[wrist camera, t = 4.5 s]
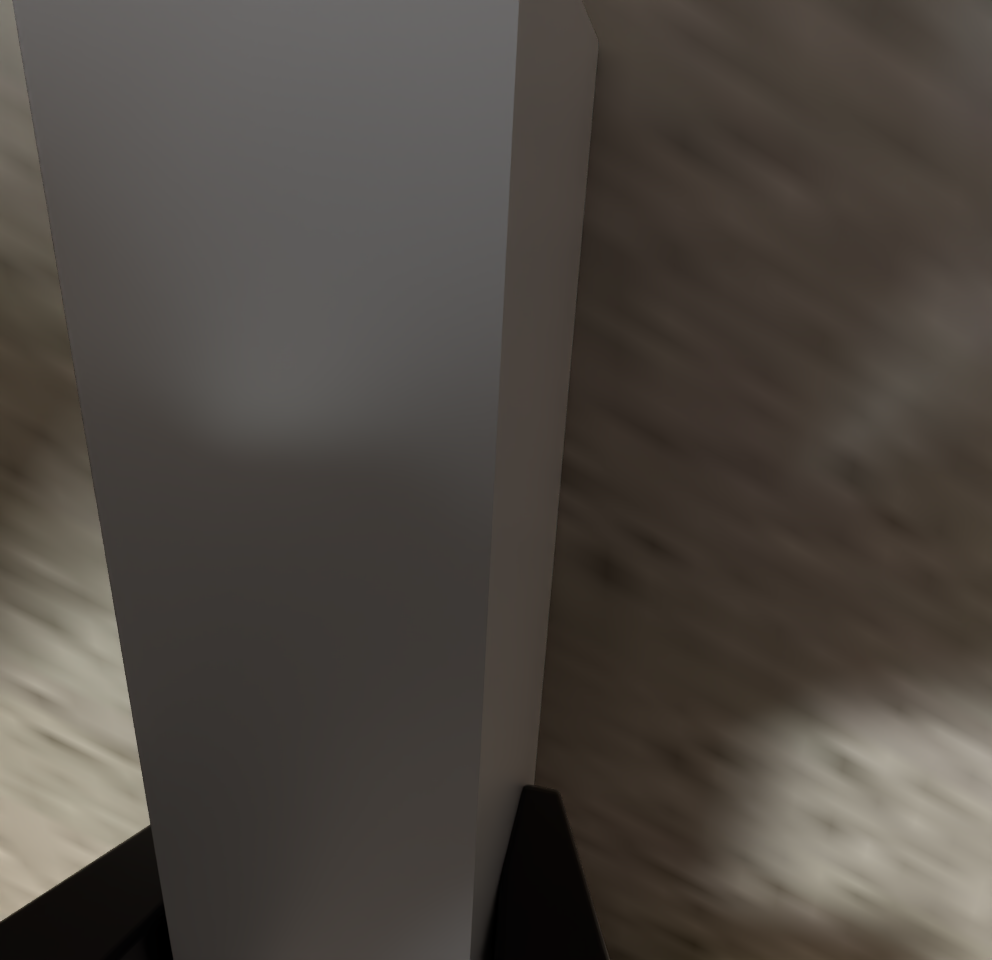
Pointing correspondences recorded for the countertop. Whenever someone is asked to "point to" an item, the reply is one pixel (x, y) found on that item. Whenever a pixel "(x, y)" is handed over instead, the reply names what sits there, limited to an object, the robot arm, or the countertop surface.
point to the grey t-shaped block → (323, 434)
